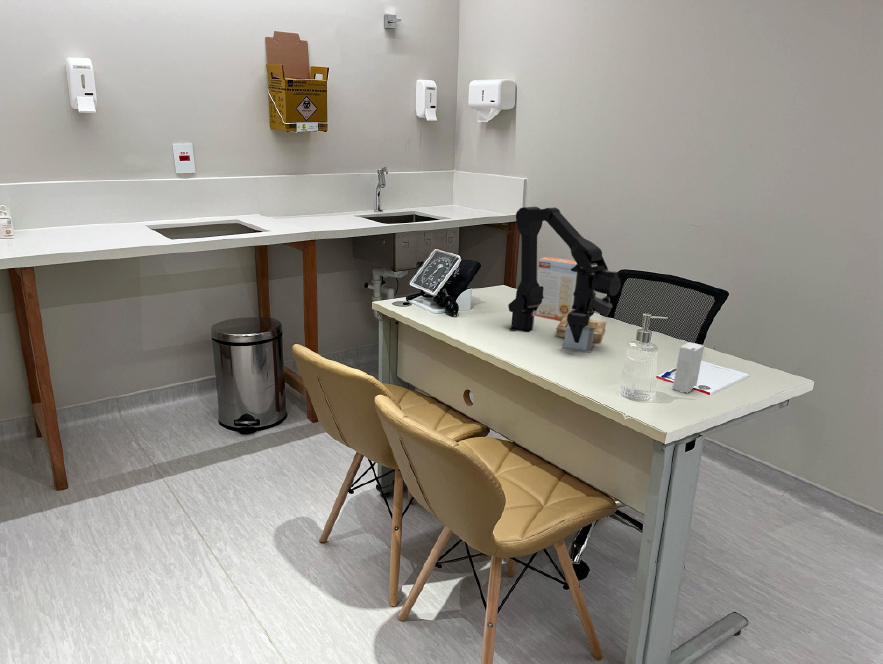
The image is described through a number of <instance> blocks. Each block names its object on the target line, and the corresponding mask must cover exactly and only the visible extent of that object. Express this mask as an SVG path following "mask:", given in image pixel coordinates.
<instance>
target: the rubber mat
mask: <svg viewBox="0 0 883 664" xmlns="http://www.w3.org/2000/svg"><path fill="white" fill-rule="evenodd" d="M594 348H595V344H593V345H592V348H591V351H589V350H582V349H576V348H569V347H564V343H563V344H562V346H561V348H560V350H565V351H567V350H568V351H572V352H573V351H574V352H580V353H584V354H585V353H586V354H592V352H593V350H594Z"/></svg>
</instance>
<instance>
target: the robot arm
mask: <svg viewBox="0 0 883 664" xmlns="http://www.w3.org/2000/svg"><path fill="white" fill-rule="evenodd" d="M515 222H516V228H517V231H518V232H519V233H520V236H521V250H520V251H521V255H520V257H521V260H520V261H521V263H520V265H521V271H520V274H521V275H520V276H521V278H520V279H521V280H520V282H519V285H518V286H517V288H516V294H515V298H514V299H512V301H511V302H509V304H507V307H508V311H509V312H511V326H510V327H509V330H510V331H515V332H516V331H518V332H524V333H530V332H531V331H532V330H533V329H534V324H535V316H534V312H535V311H537V309H538V306H539V305H540V304H541V303H542V299H544V297H543V289H544V288H543V286H539V284H538V282H537V280H538V235H539V233H540V231H541V229H542V227H543V222H546V223H547V224H548V225H549V226H550V227H551V228H552V229H553V230H554V232H555V233H556V234H557V235H558V236H559V237H560V238H561V240H562V241H564V243H565V244H566V246H568V248H569V250H570V254H571V256H572V258H573V261H576V263H577V264H576V266H575V267H573V268H572V269H571V271H573V272H577V276H576V285H575V291H574V294H573V296H574V302H573V305H572V309H575V310H572V311H570V312H569V314H568V316H567V321H568V323H569V326H570V329H571V332H572V335H573V338H574V341H575V343H579V340H580V337H581V334H582V331H583V328H584V327H585V326H587V325H588V324H589V321H590V319H591V317H592V316H593V315H594V314H595V312H596V313H598V314H600V315H601V316H602V317H605V318H607V317H608V315H609V314H610V312H611V310H612V308H613V303H610V302H611V298H610V297H608V296H612V297H614V296H616V295H618V293H619V292H620V290H621V287H622V285H621V284H622V282H621V278H620V277H619V272H618V271H610V270H609V269H608V265H607V263H606V262H605V259H604V257H603V251H602V249H601V248H600V247H599V246H598V245H596V243H594V242H592V241H590V240H588V239H586V238H584V237H583V236H582V235H581V234H580V233H579V231H578V230H576V229H575V227H574V226H573V225H572V224H571V223H570V222H569V221H568V219H567V218H566V217H565V216H564V215H563V214H562V213H561V211H560V209H559V208H557V207H546V208H542V209H541V208H540V207H538V206H523V207H520V208H519V209H518V210H517V211H516V214H515ZM597 293H600V294H605V296H604V297H602V298H601V297H597V296H596V294H597ZM606 295H608V296H606Z"/></svg>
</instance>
